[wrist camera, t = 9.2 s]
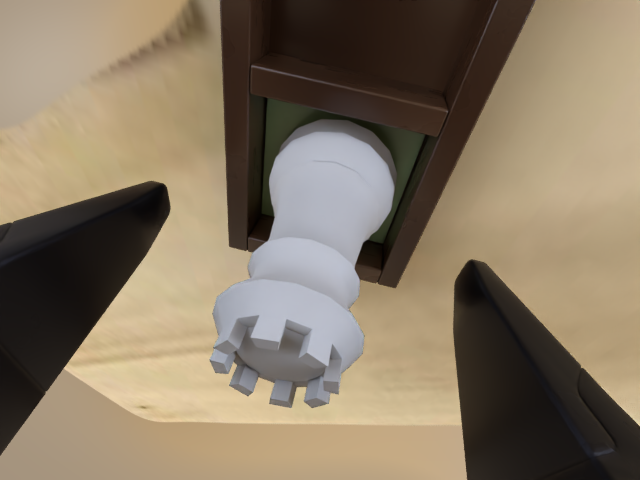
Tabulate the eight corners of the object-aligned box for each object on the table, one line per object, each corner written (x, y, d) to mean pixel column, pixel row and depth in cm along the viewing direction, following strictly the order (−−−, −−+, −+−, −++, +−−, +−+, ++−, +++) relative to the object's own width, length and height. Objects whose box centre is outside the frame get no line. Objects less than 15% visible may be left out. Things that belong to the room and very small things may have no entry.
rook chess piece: (418, 194, 12) (437, 421, 6) (321, 236, 14) (264, 434, 8) (356, 85, 10) (291, 261, 4) (254, 153, 12) (114, 334, 6)
